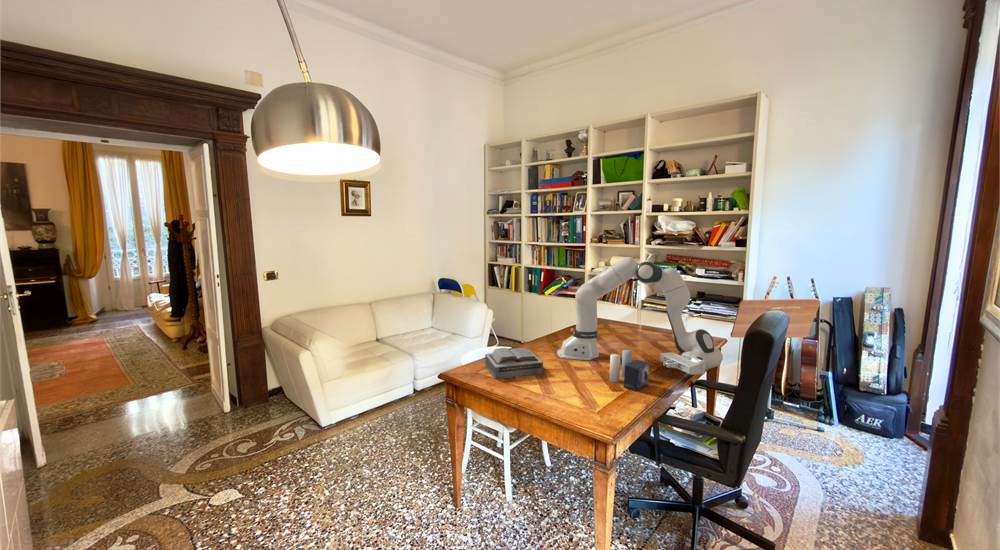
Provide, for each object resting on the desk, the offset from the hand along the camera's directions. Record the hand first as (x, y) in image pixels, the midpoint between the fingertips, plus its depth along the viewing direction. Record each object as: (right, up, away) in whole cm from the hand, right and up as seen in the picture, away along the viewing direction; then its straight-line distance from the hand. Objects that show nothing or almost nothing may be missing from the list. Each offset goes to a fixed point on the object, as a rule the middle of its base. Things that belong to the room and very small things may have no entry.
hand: (665, 364), depth 179 cm
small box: (-14, -9, -3) cm, 17 cm away
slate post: (-15, -7, +9) cm, 19 cm away
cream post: (-22, -8, +3) cm, 24 cm away
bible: (-68, -7, +17) cm, 70 cm away
